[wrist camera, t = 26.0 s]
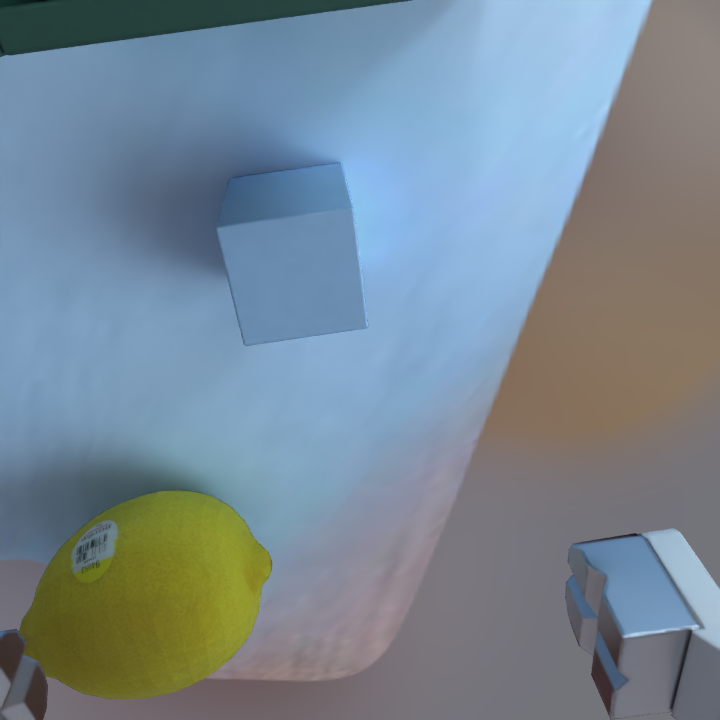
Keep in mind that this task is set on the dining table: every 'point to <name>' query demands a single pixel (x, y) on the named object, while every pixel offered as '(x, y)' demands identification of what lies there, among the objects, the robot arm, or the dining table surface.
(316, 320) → the block
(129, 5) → the bin
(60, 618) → the lemon
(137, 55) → the dining table surface
